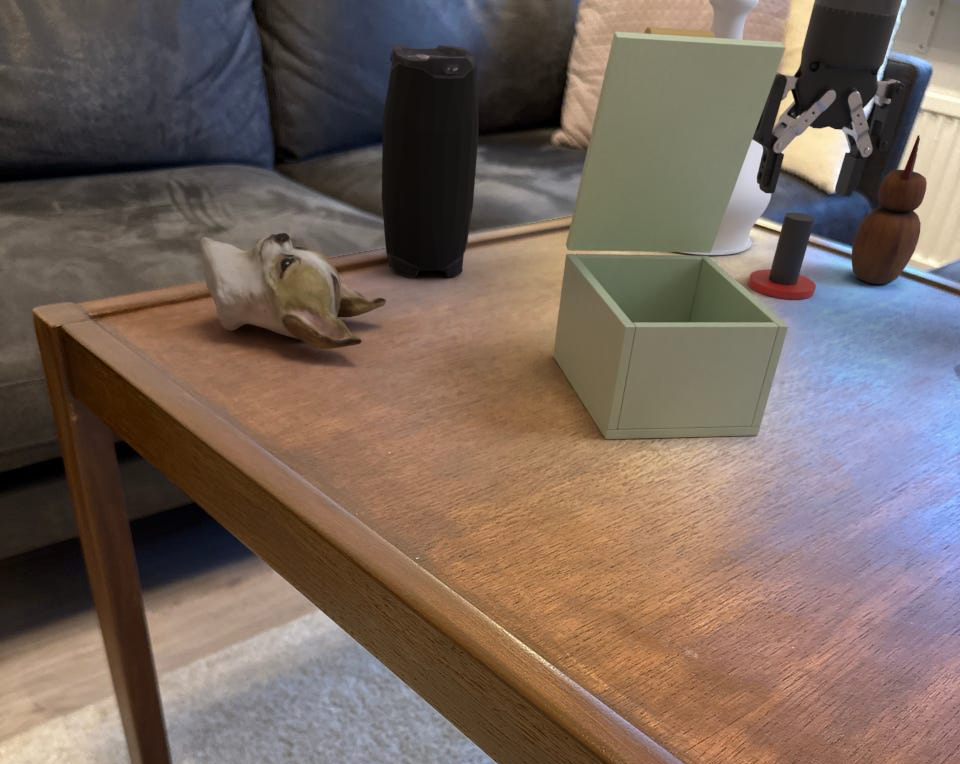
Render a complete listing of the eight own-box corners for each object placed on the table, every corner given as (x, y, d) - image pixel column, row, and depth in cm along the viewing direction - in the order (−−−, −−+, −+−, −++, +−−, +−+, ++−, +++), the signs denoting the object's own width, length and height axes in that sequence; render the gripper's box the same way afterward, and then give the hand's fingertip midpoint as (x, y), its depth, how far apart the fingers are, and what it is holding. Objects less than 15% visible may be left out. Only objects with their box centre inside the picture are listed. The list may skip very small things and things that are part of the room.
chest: (758, 435, 77) (789, 326, 71) (605, 439, 74) (625, 326, 69) (686, 354, 89) (708, 255, 83) (552, 356, 86) (565, 253, 81)
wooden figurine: (880, 293, 107) (930, 141, 97) (834, 276, 110) (879, 128, 100) (911, 282, 110) (963, 136, 101) (866, 267, 113) (912, 123, 104)
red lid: (768, 272, 109) (786, 203, 105) (825, 290, 106) (846, 220, 101) (735, 284, 105) (752, 213, 100) (793, 304, 101) (813, 231, 97)
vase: (594, 212, 122) (629, -29, 107) (721, 214, 127) (772, -18, 111) (645, 258, 109) (692, -8, 94) (784, 258, 114) (852, 3, 98)
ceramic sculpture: (222, 199, 84) (393, 232, 84) (225, 298, 90) (385, 329, 89) (175, 237, 76) (363, 273, 76) (181, 343, 82) (357, 377, 81)
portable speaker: (364, 266, 100) (364, 45, 88) (422, 248, 106) (430, 39, 94) (429, 289, 97) (439, 61, 84) (485, 268, 103) (502, 53, 91)
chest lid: (786, 47, 69) (763, 13, 72) (617, 36, 67) (599, 2, 69) (710, 252, 83) (693, 217, 85) (567, 250, 80) (554, 214, 83)
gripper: (804, 3, 85) (755, 201, 95) (948, 15, 88) (886, 206, 98) (767, -8, 90) (725, 180, 101) (904, 4, 93) (849, 185, 104)
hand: (804, 193), depth 99 cm, fingers open, 8 cm apart
